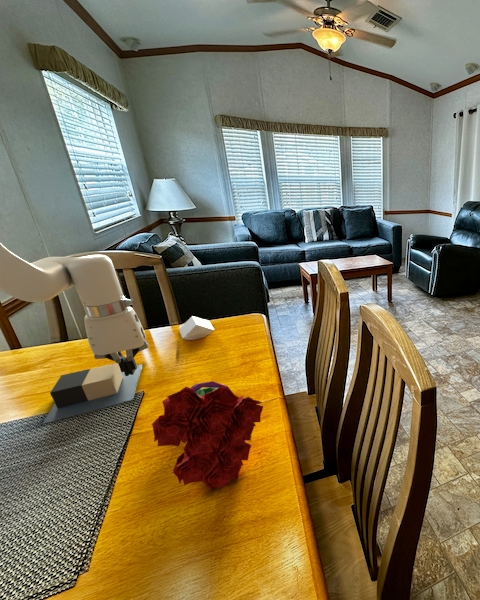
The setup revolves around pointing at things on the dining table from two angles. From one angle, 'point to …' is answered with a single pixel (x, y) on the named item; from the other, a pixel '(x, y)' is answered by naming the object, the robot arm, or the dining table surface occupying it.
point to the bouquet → (208, 432)
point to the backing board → (99, 399)
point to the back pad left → (69, 389)
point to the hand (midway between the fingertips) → (130, 372)
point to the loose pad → (102, 381)
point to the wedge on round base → (195, 328)
